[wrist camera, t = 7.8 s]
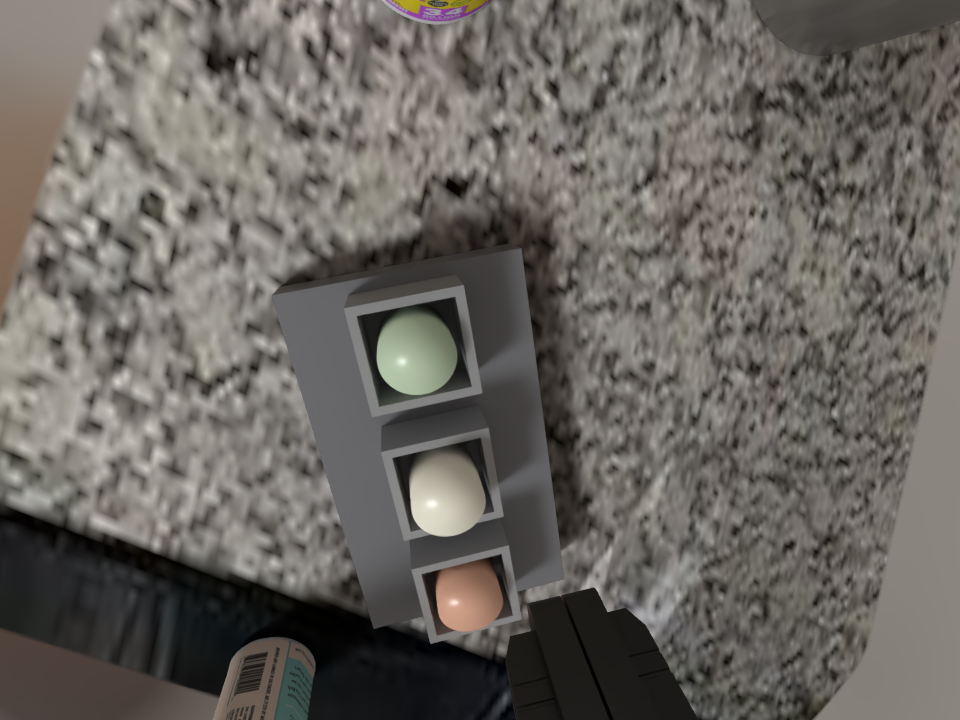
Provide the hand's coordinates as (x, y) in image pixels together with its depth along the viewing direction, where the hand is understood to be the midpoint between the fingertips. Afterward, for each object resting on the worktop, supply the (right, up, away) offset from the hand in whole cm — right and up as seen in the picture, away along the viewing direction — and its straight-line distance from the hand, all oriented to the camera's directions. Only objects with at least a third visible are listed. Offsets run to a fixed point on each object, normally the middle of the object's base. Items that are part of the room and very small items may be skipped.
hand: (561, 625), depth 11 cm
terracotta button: (-3, -5, +17) cm, 18 cm away
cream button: (-4, 0, +14) cm, 14 cm away
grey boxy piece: (-4, +2, +17) cm, 17 cm away
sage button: (-5, +7, +12) cm, 15 cm away
